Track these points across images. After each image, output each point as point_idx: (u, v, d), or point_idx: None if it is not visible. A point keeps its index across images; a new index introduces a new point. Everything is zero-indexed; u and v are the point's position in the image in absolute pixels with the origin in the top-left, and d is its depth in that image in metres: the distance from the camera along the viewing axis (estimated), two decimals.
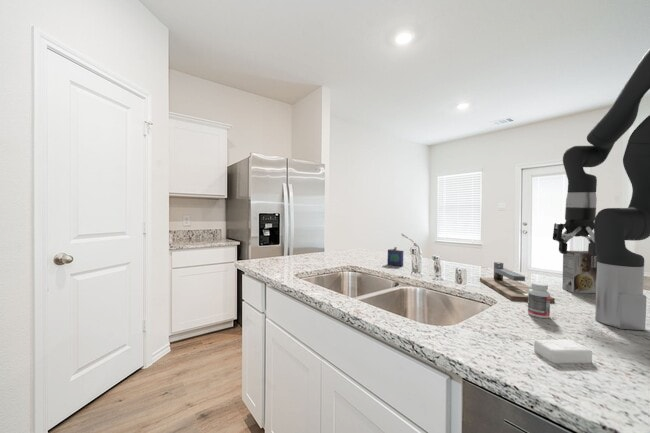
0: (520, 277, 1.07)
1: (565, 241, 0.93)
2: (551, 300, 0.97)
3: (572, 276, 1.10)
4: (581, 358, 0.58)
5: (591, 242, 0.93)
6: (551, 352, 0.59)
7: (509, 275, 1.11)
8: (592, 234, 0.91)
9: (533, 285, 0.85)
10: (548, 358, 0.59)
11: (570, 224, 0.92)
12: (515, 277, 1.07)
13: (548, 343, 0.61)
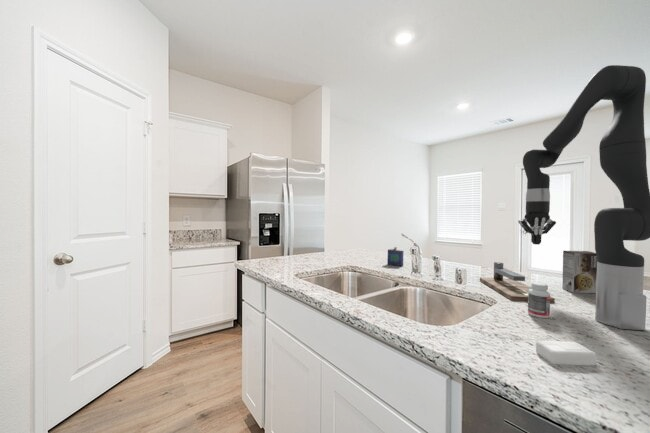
0: (520, 277, 1.07)
1: (536, 233, 1.08)
2: (551, 300, 0.97)
3: (572, 276, 1.10)
4: (584, 360, 0.57)
5: None
6: (551, 353, 0.58)
7: (509, 275, 1.11)
8: (542, 225, 1.08)
9: (533, 285, 0.85)
10: (549, 359, 0.59)
11: (528, 216, 1.09)
12: (515, 277, 1.07)
13: (550, 344, 0.61)
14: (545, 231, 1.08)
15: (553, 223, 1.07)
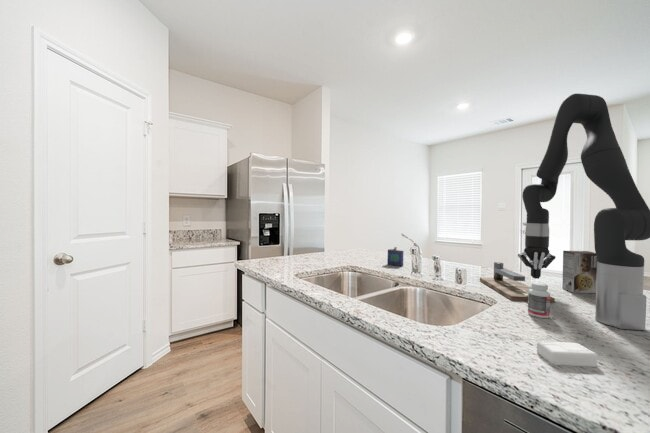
0: (520, 277, 1.07)
1: (535, 267, 1.09)
2: (551, 300, 0.97)
3: (572, 276, 1.10)
4: (585, 361, 0.57)
5: None
6: (552, 353, 0.58)
7: (509, 275, 1.11)
8: (542, 260, 1.08)
9: (533, 285, 0.85)
10: (549, 359, 0.59)
11: (528, 250, 1.09)
12: (515, 277, 1.07)
13: (551, 345, 0.61)
14: (544, 265, 1.08)
15: (552, 258, 1.08)
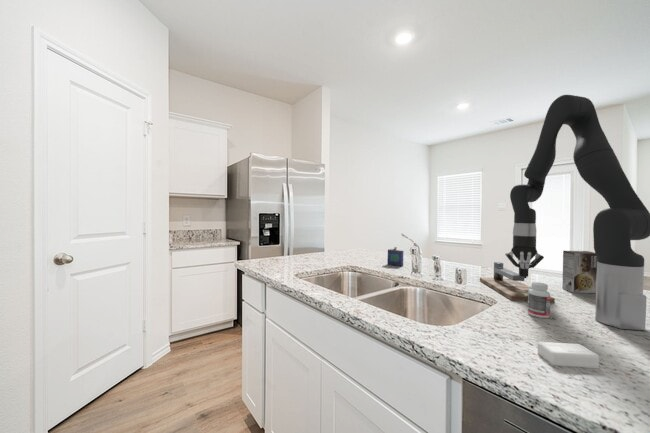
0: (519, 277, 1.07)
1: (522, 267, 1.10)
2: (551, 300, 0.97)
3: (572, 276, 1.10)
4: (586, 362, 0.57)
5: None
6: (552, 354, 0.58)
7: (509, 275, 1.11)
8: (528, 259, 1.08)
9: (533, 285, 0.85)
10: (549, 360, 0.58)
11: (514, 250, 1.11)
12: (514, 277, 1.07)
13: (552, 345, 0.60)
14: (532, 265, 1.08)
15: (540, 258, 1.07)
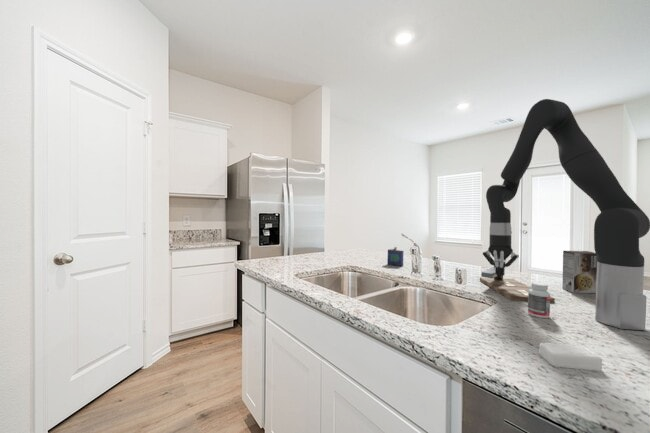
0: (488, 274, 1.12)
1: (497, 265, 1.12)
2: (551, 300, 0.97)
3: (572, 276, 1.10)
4: (588, 364, 0.56)
5: None
6: (552, 355, 0.57)
7: None
8: (502, 258, 1.10)
9: (533, 285, 0.85)
10: (550, 361, 0.58)
11: (489, 249, 1.14)
12: (483, 273, 1.13)
13: (553, 346, 0.60)
14: (506, 264, 1.10)
15: (514, 257, 1.08)
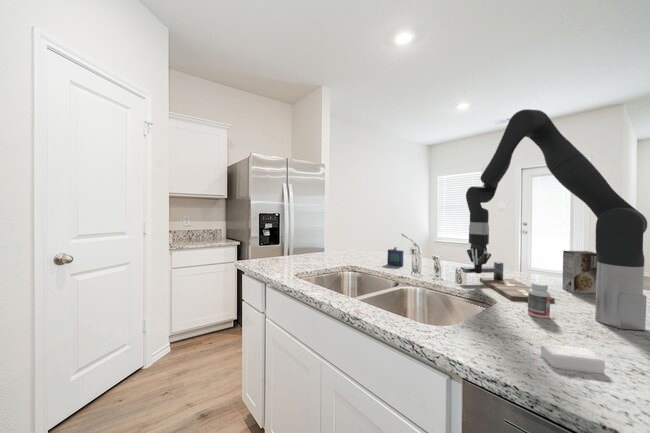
0: (463, 269, 1.22)
1: (474, 262, 1.19)
2: (551, 300, 0.97)
3: (572, 276, 1.10)
4: (589, 367, 0.55)
5: None
6: (552, 356, 0.57)
7: None
8: (476, 256, 1.17)
9: (533, 285, 0.85)
10: (550, 362, 0.58)
11: None
12: (461, 268, 1.23)
13: (554, 348, 0.59)
14: (479, 262, 1.16)
15: (484, 255, 1.13)
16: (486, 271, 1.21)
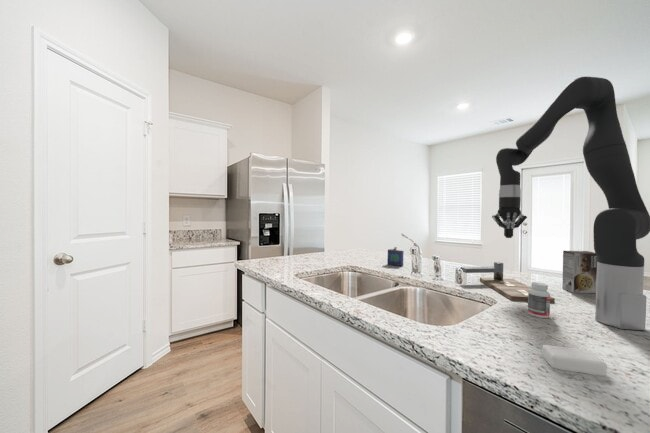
0: (463, 269, 1.22)
1: (508, 227, 1.14)
2: (551, 300, 0.97)
3: (572, 276, 1.10)
4: (590, 369, 0.54)
5: None
6: (552, 356, 0.57)
7: None
8: (514, 220, 1.14)
9: (533, 285, 0.85)
10: (550, 363, 0.57)
11: (501, 211, 1.15)
12: (461, 268, 1.23)
13: (556, 349, 0.59)
14: (516, 225, 1.14)
15: (524, 218, 1.14)
16: (486, 271, 1.21)
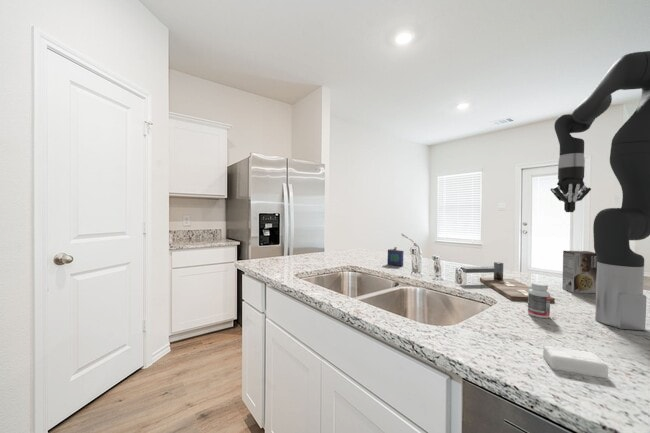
0: (463, 269, 1.22)
1: (570, 200, 1.05)
2: (551, 300, 0.97)
3: (572, 276, 1.10)
4: (591, 370, 0.54)
5: None
6: (551, 357, 0.57)
7: None
8: (577, 192, 1.04)
9: (533, 285, 0.85)
10: (549, 363, 0.57)
11: (561, 183, 1.05)
12: (461, 268, 1.23)
13: (556, 350, 0.58)
14: (579, 198, 1.04)
15: (588, 190, 1.04)
16: (486, 271, 1.21)
